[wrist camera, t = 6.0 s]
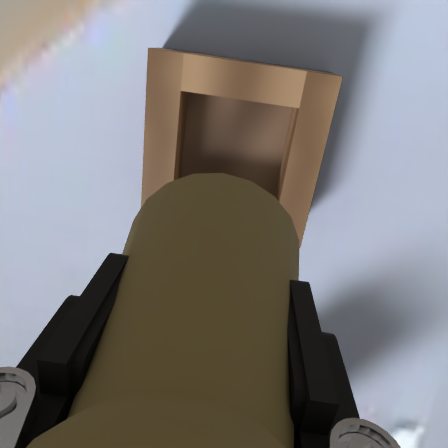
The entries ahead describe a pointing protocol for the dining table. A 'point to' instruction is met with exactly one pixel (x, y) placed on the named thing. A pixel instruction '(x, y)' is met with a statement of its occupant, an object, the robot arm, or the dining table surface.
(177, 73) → the holder
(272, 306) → the cork
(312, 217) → the dining table surface
